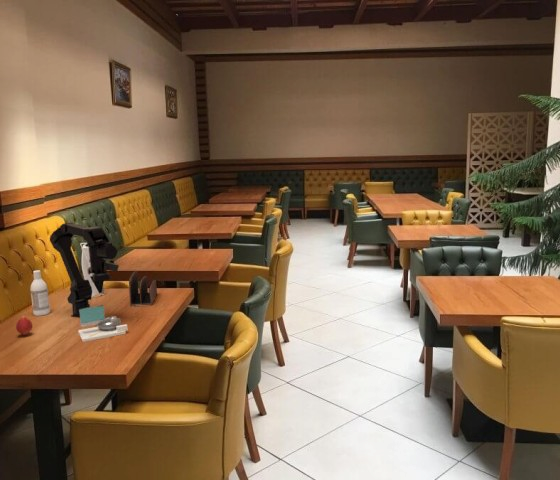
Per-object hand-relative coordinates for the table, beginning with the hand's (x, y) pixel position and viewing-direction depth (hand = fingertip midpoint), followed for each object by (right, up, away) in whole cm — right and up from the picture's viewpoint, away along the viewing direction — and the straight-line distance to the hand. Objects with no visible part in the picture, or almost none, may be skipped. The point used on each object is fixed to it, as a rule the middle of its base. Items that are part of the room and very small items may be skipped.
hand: (100, 292), depth 220 cm
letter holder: (+11, -7, +30) cm, 33 cm away
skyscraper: (-18, -6, +42) cm, 46 cm away
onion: (-25, -16, -14) cm, 33 cm away
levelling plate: (+6, -14, -15) cm, 22 cm away
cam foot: (+5, -12, -14) cm, 19 cm away
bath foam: (-32, -11, +14) cm, 37 cm away
